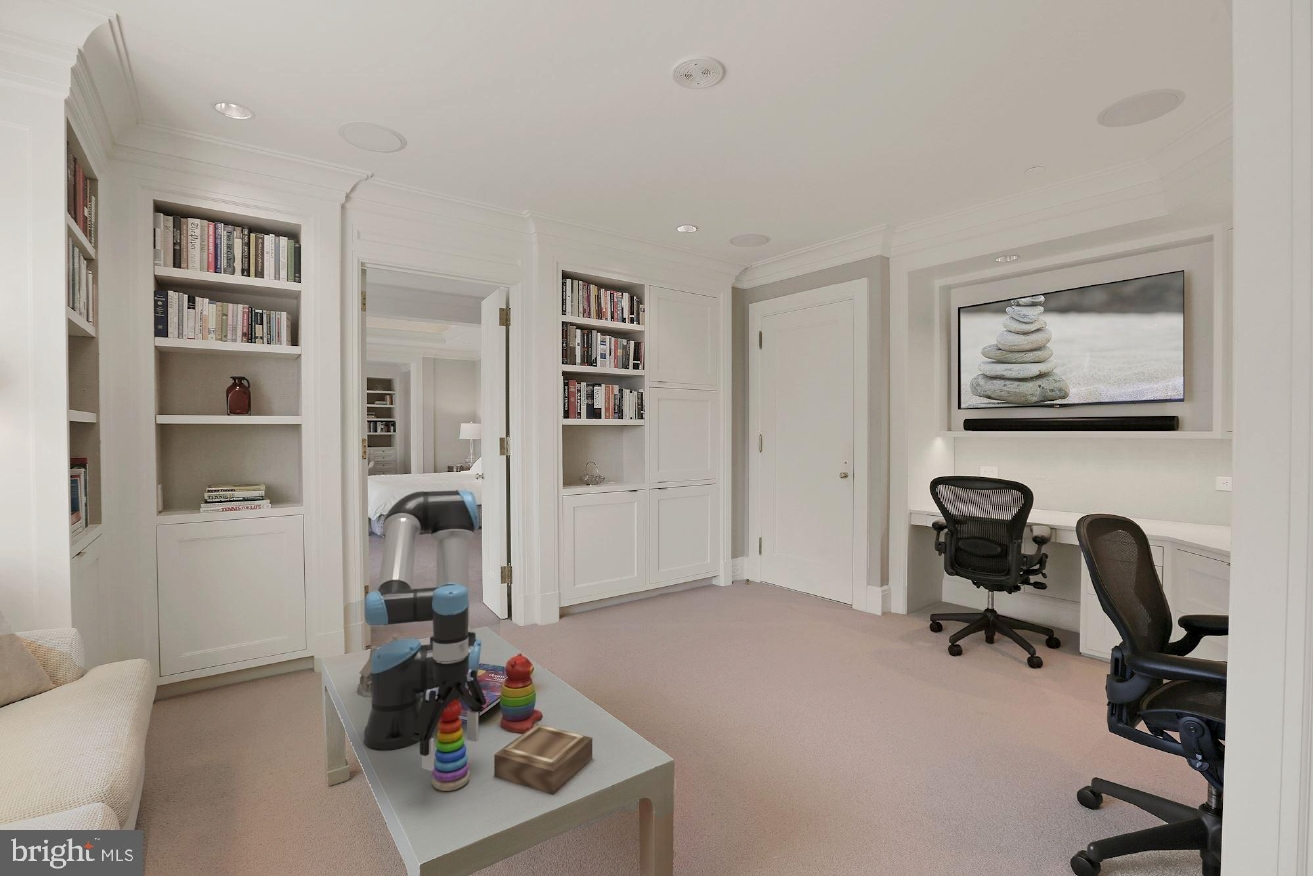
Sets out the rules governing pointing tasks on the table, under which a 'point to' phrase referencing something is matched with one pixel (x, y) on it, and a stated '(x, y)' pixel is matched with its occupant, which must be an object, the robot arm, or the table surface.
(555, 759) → the plinth
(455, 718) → the stacking toy
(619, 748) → the table surface
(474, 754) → the table surface
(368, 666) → the ceramic cottage
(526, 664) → the stacking bear
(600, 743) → the table surface
